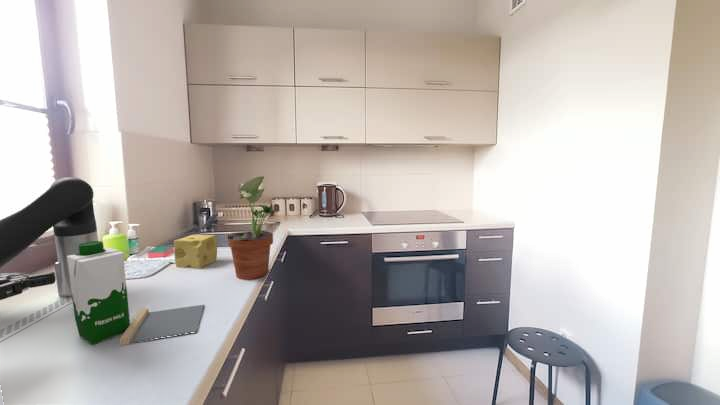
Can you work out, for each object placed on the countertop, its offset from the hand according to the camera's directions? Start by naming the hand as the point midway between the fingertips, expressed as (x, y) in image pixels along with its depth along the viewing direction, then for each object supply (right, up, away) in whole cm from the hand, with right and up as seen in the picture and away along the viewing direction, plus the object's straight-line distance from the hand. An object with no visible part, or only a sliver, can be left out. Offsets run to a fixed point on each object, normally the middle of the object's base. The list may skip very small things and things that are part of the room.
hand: (54, 277), depth 65 cm
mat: (+18, -13, +9) cm, 24 cm away
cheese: (+2, -8, +53) cm, 53 cm away
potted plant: (+27, -9, +42) cm, 50 cm away
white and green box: (+6, -14, +5) cm, 16 cm away
